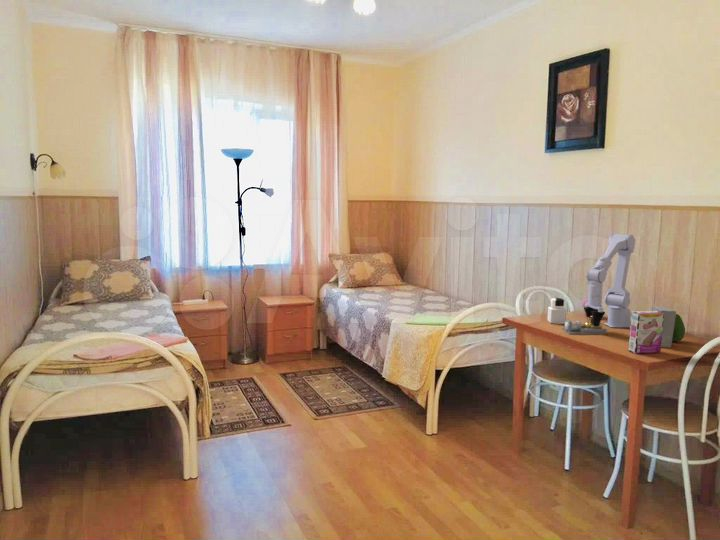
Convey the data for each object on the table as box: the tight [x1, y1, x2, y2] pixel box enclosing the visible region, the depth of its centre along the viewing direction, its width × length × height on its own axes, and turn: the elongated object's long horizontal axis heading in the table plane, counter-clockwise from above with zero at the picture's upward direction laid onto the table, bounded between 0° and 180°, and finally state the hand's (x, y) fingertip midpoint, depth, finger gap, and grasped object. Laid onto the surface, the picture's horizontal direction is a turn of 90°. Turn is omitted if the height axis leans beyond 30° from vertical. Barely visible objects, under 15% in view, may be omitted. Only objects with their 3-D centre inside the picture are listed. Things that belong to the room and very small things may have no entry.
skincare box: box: [650, 305, 677, 348], centre depth 227 cm, size 8×7×16 cm
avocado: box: [672, 313, 686, 343], centre depth 233 cm, size 8×8×12 cm
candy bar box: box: [628, 310, 664, 355], centre depth 216 cm, size 11×5×16 cm, turn 99°
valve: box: [583, 315, 603, 329], centre depth 250 cm, size 7×4×7 cm, turn 90°
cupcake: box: [581, 297, 588, 318], centre depth 281 cm, size 9×9×10 cm
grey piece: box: [561, 318, 608, 335], centre depth 250 cm, size 17×10×5 cm, turn 90°
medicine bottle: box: [546, 297, 567, 325], centre depth 268 cm, size 7×7×12 cm
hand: (593, 324), depth 250 cm, fingers open, 6 cm apart
